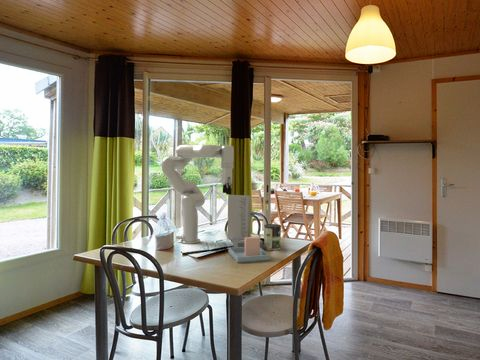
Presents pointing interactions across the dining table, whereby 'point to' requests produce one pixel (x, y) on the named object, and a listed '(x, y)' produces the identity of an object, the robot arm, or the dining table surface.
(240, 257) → the tray
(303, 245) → the dining table surface
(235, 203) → the tall white slab
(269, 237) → the coffee can
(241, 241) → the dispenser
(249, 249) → the pink rectangular block
